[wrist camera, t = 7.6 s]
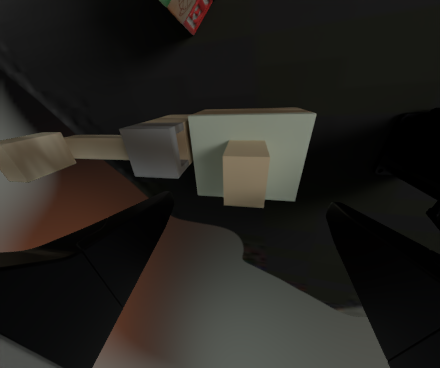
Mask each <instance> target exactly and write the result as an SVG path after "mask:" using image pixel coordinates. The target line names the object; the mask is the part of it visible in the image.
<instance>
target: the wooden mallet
mask: <svg viewBox="0 0 440 368" xmlns="http://www.w3.org/2000/svg"><path fill="white" fill-rule="evenodd" d="M74 158H77V159H111V160H129V157H128V154H127V151H126V148H125V145H124V142H123V139H122V136H121V135H74V136H70V137H65V138H63V136H62V134H61V133H60V132H43V133H37V134H32V135H27V136H22V137H17V138H11V139H6V140H1V141H0V170H1V172H2V173H3V174H4V175H5V177H6V178H7V179H8V180H9V181H12V182H31V181H34V180H36V179H39V178H41V177H44V176H46V175H49V174H51V173H54V172H56V171H58V170H61V169H63V168H66V167H68V166H71V165H73V164H76V161H75V159H74Z"/></svg>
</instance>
